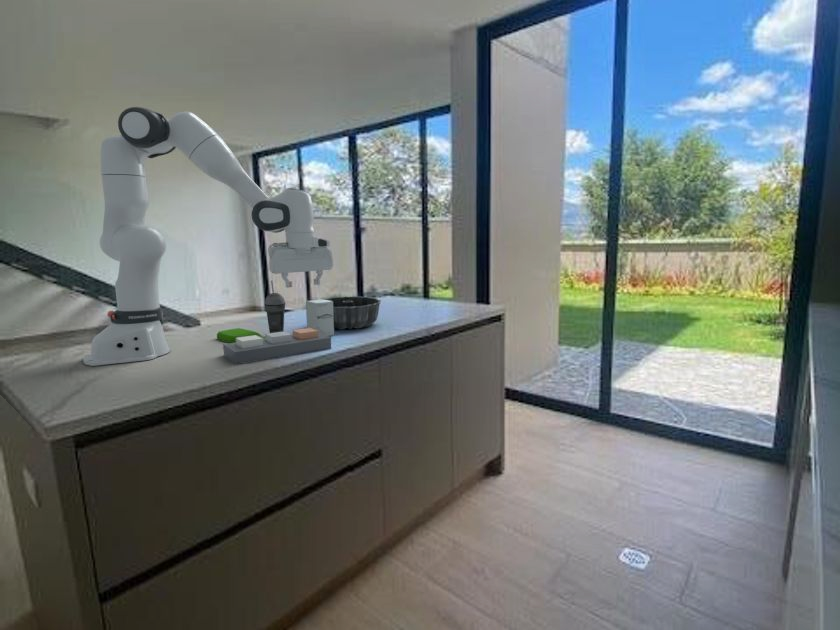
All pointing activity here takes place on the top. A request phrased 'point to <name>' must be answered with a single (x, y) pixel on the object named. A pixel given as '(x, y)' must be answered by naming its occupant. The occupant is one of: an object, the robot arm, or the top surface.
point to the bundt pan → (354, 311)
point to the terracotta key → (305, 333)
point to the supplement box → (320, 316)
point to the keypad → (275, 349)
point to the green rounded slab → (235, 334)
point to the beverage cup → (275, 311)
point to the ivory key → (249, 341)
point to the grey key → (278, 337)
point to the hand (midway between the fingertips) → (303, 285)
